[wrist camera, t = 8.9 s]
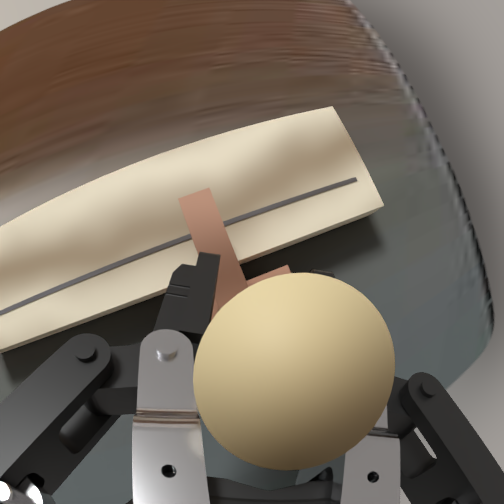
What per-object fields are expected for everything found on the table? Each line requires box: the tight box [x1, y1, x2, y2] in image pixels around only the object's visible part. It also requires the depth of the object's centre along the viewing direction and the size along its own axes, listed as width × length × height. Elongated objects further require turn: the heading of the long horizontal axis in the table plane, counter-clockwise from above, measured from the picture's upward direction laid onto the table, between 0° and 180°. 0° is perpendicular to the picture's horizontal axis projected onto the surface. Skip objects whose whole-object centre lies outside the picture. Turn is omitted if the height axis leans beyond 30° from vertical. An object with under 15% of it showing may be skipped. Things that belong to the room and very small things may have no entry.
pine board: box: [0, 106, 384, 353], centre depth 17 cm, size 7×26×2 cm, turn 112°
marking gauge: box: [178, 188, 395, 470], centre depth 11 cm, size 8×6×12 cm
